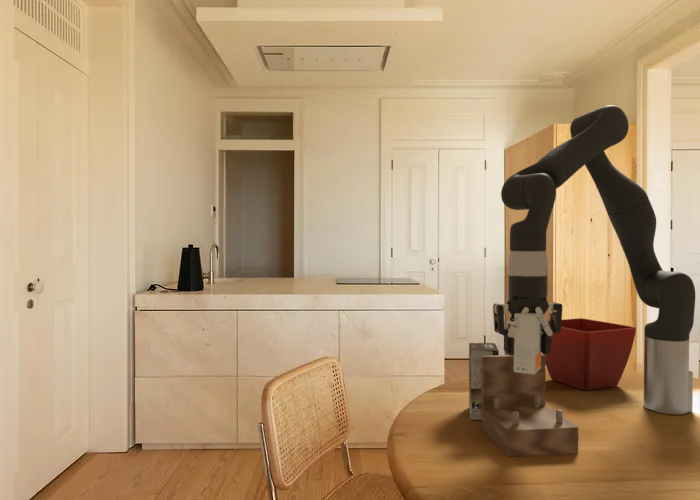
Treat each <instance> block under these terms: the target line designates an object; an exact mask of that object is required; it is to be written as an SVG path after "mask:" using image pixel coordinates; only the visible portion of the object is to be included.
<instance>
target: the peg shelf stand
mask: <svg viewBox="0 0 700 500" xmlns="http://www.w3.org/2000/svg"><path fill="white" fill-rule="evenodd" d="M545 361H546V355H544V354H542V353H541V368H540V369H539V370H538V371H537V372H536V373H535V374H534V375H533V374H526V373H518V372H514V356H510V355H508V354H499V355H490V356H481V420H480V429H481V431H482V432H483V433H484V434H486V435H487V437H489V439H490V440H491V441H492V442H493V443H494V444H495V445H496V446H497V447H498V448H500V450H501V451H502V452H503V453H504V455H506V456H507V457H510V458H511V457H528V456H545V455H546V456H547V455H564V454H565V455H566V454H578V453H579V426H577V425H575V424H574V423H573V422H571V421H570V420H568V419H567V418H566V417H564V415H563V413H564V412H563V410H562V409H556V410H555V411H554V410H553V409H551V408H550V407H548V406H547V405H546V364H545Z"/></svg>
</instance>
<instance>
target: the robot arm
mask: <svg viewBox="0 0 700 500" xmlns="http://www.w3.org/2000/svg"><path fill="white" fill-rule="evenodd" d="M629 127H630V126H629V120H628V117H627V115H626V113H625V111H624V110H623V109H622V108H620V107H619V106H617V105H613V104H611V105H604V106H601V107H599V108H596V109H594V110H592V111H589V112H586V113H584V114H582V115H579V116H578V117H576V118H574V119H572V121H571V124H570V128H569V131H570V133H569V134H570V137H571V138H570V139H568V140H567V141H566V140H565V141H564V142H562V143H561V144H559V145H558V146H556V147H554V148H553V149H551V150H550V151H549V152H547V153H546V154H545V155H543V156H542V158H540V159H539V160H538V161H537V162H535V163H533V164H531V165H530V166H527V167H526V168H523V169H521V170H519V171H517V172H515V173H513V174H512V175H510V176H509V177H508V178H507V179H506V180H505V182H504V183H503V185H502V187H501V193H500V197H501V201H502V203H503V204H504V206H506V208H508V209H510V210H514V211H524V210H528V212H527V215H526V216H525V218H523V220H519V221H516V222H514V223H512V224H511V225H510V227H509V228H510V230H509V256H508V266H507V267H508V270H507V271H508V275H507V277H508V280H507V281H508V283H507V287H508V293H507V294H508V300H507V302H506V303H494V304H493V305H492V309H493V310H492V313H493V331H494V332H495V333H496V334H497V333H498V334H499V335H502V336H503V350H504V352H505V354H506V355H510V356H514V333H515V328H519V322H518V321H519V316H518V317H517V319H516V320H515V321H514V314H515V313H520V314H527V313H536V314H538V317H539V321H540V326H541V332H542V335H541V354H542V353H543V354H549V351H551V337H552V335H553V334H555V333H559V332H561V322H562V320H563V304H562V303H559V302H555V301H552V302H548V300H547V298H548V274H549V273H548V271H549V269H548V267H549V266H548V265H549V264H548V255H547V229H548V226H549V223H550V219H551V215H552V212H553V209H554V205H555V202H556V199H557V189H559V188H560V187H561V186H563V185H564V183H566V182H567V181H568V180H569V179H570V178H572V177H573V176H574V175H575V174H576V173H577V172H578V171H579V170H581V168H582V167H584V166H585V168H586V170H587V171H588V174H590V176H591V179H592V181H593V182H594V183H593V184H594V185H595V187H596V190H597V191H598V194H599V196H600V198H601V201H602V203H603V205H604V208H605V210H606V214H607V216H608V218H609V221H610V224H611V225H612V227H613V229H614V231H615V234H616V236H617V238H618V242H619V243H620V245H621V248H622V251H623V253H624V255H625V259H626V261H627V263H628V266H629V269H630V273H631V277H632V281H633V283H634V287H635V290H636V292H637V295H638V298H639V299H640V301H641V302H643V303H644V305H646V306H649V307H650V308H655V309H658V314H657V318H656V320H654V321H652V322H648V323H646V324H645V325H644V330H643V331H644V334H643V336H644V337H643V343H644V344H643V347H644V348H643V351H644V352H643V353H644V354H643V407H644V408H646V409H647V410H650V411H653V412H657V413H659V414H660V413H661V414H666V415H686V414H688V413H691V412H693V400H694V399H693V396H694V395H693V390H694V389H693V386H694V385H693V384H694V382H693V381H694V373H693V371H692V370H690V333H691V331H692V329H693V326H694V321H695V307H696V287H695V283H694V281H693V279H692V278H691V276H689V275H688V274H686V273H684V272H680V271H668V270H663V268H662V267H661V264H660V263H659V260H658V257H657V256H656V252H655V248H654V247H655V245H654V242H655V236H656V230H657V217H656V213H655V210H654V207H653V206H652V203H651V201H650V198H649V196H648V194H647V192H646V190H644V189H643V187H641V185H639V184H638V183H636V182H635V181H634V180H632V179H631V177H628V175H625V174H624V173H622V172H621V171H620V170H619V169H618V168H616V167H615V166H614V165H613V163H612V162H611V160H610V158H609V157H608V156H607V154H606V150H607V149H609V148H611V147H613V146H616V145H618V144H619V143H621V142H622V141H623V140H625V138H626V137H627V135H628V134H629ZM507 311H509V313H510V315H509V317H508V319H507V321H506V324H505V315H506V313H507ZM546 312H549V320H547V318H546V316H545V313H546ZM548 321H550V327H549V323H548Z"/></svg>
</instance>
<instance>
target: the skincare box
mask: <svg viewBox="0 0 700 500" xmlns="http://www.w3.org/2000/svg"><path fill="white" fill-rule="evenodd" d="M518 316H519V321H518V322H519V328H515V333H514V335H513V338H514V372H518V373H526V374H533V375H534V374H535V373H536V372H537V371H538V370H539V369H540V368H541V354H542V353H541V326H540V321H539V317H538V314H536V313H527V314H520V313H515V314H514V321H515V320H516V319H517V317H518Z"/></svg>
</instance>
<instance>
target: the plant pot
mask: <svg viewBox="0 0 700 500" xmlns="http://www.w3.org/2000/svg"><path fill="white" fill-rule="evenodd" d="M547 321H548V323H549V327H550V320H547ZM636 332H637V327H635V326H630V325H624V324H619V323H613V322H608V321H607V322H606V321H601V320H594V319H588V318H582V317H581V318H580V317H579V318H565V319H562V322H561V332H559V333H555V334H553V335H552V337H551V351H549V354H544V355H546V361H545V368H546V369H547V373H548V375H549V378H550V379H551V381H552V380H553V381H555V382H558V383H562V384H565V385H566V386H571V387H573V388H577V389H580V390H582V391H593V390H599V389H605V388H606V389H607V388H611V387H612V388H613V387H617V386H618V385H619V382H620V381H621V379H622V377H623V374H624V372H625V370H626V366H627V364H628V361H629V358H630V356H631V352H632V350H633V349H632V348H633V347H634V346H633V345H634V341H635V337H636ZM541 335H542V332H541ZM541 354H543V353H541Z"/></svg>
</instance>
